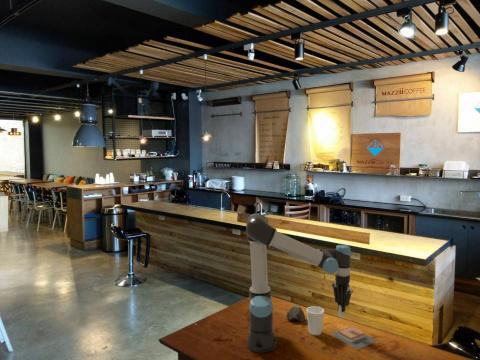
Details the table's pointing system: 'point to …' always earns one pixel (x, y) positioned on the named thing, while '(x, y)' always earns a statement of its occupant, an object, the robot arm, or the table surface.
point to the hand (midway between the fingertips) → (341, 316)
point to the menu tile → (351, 334)
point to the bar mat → (358, 343)
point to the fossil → (296, 313)
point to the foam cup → (315, 319)
